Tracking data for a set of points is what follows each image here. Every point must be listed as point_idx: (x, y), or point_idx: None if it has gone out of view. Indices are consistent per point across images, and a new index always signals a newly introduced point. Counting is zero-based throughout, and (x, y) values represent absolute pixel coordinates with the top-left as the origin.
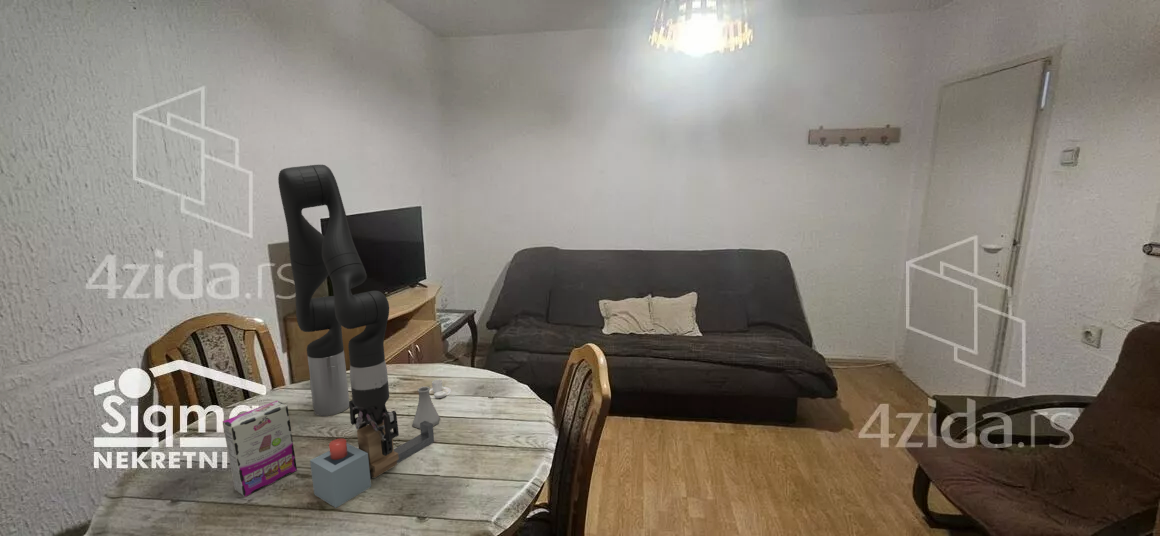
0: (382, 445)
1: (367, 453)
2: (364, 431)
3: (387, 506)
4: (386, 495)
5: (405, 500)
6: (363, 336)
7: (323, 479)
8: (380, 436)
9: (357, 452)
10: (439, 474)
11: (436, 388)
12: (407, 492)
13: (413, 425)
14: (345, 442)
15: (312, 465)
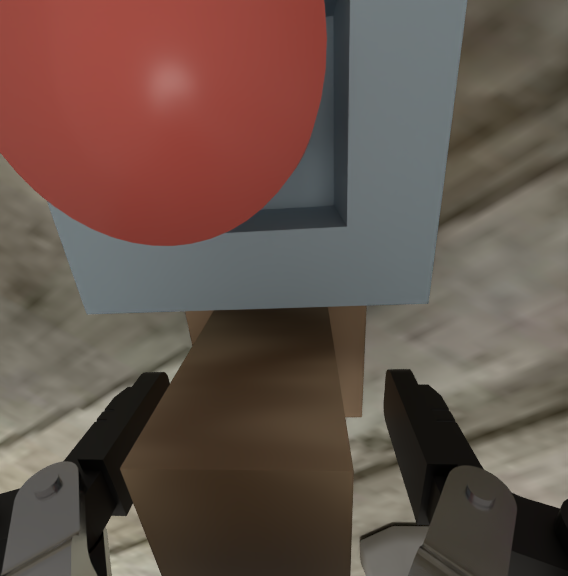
0: (113, 424)
1: (88, 311)
2: (243, 492)
3: (14, 202)
4: None
5: (11, 266)
6: None
7: None
8: (64, 499)
9: (162, 271)
10: (86, 410)
11: None
12: (56, 297)
13: (426, 530)
14: (35, 185)
15: None
